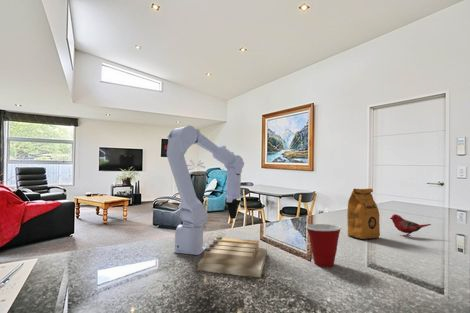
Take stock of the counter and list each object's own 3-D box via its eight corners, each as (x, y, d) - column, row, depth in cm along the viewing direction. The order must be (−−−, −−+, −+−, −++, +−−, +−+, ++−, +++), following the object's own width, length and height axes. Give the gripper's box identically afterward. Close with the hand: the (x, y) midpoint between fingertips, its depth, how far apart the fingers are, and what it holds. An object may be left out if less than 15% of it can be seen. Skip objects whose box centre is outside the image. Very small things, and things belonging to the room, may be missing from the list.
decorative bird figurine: (388, 234, 117) (388, 213, 117) (429, 237, 114) (429, 215, 115) (391, 236, 114) (391, 214, 115) (433, 238, 111) (433, 216, 112)
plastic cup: (315, 255, 86) (315, 220, 86) (347, 264, 78) (347, 225, 79) (298, 263, 78) (298, 224, 79) (332, 273, 70) (332, 231, 71)
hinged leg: (213, 248, 84) (213, 238, 84) (215, 245, 87) (216, 236, 87) (257, 252, 80) (257, 241, 81) (258, 249, 83) (258, 239, 84)
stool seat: (197, 270, 71) (198, 251, 71) (216, 249, 89) (217, 234, 90) (260, 277, 67) (260, 257, 67) (266, 254, 85) (267, 238, 86)
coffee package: (384, 239, 108) (383, 189, 109) (361, 241, 105) (360, 189, 106) (365, 233, 118) (365, 187, 119) (344, 235, 114) (344, 187, 115)
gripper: (239, 185, 93) (238, 222, 93) (246, 184, 107) (245, 215, 107) (221, 185, 95) (220, 221, 94) (230, 183, 109) (229, 214, 108)
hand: (232, 218), depth 101 cm, fingers closed
